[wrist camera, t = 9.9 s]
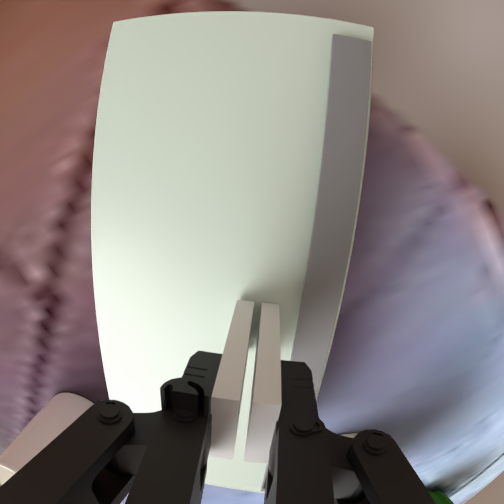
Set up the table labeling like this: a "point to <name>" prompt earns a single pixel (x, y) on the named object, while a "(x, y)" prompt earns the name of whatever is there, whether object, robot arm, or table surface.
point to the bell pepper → (440, 497)
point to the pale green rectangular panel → (224, 194)
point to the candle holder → (41, 431)
